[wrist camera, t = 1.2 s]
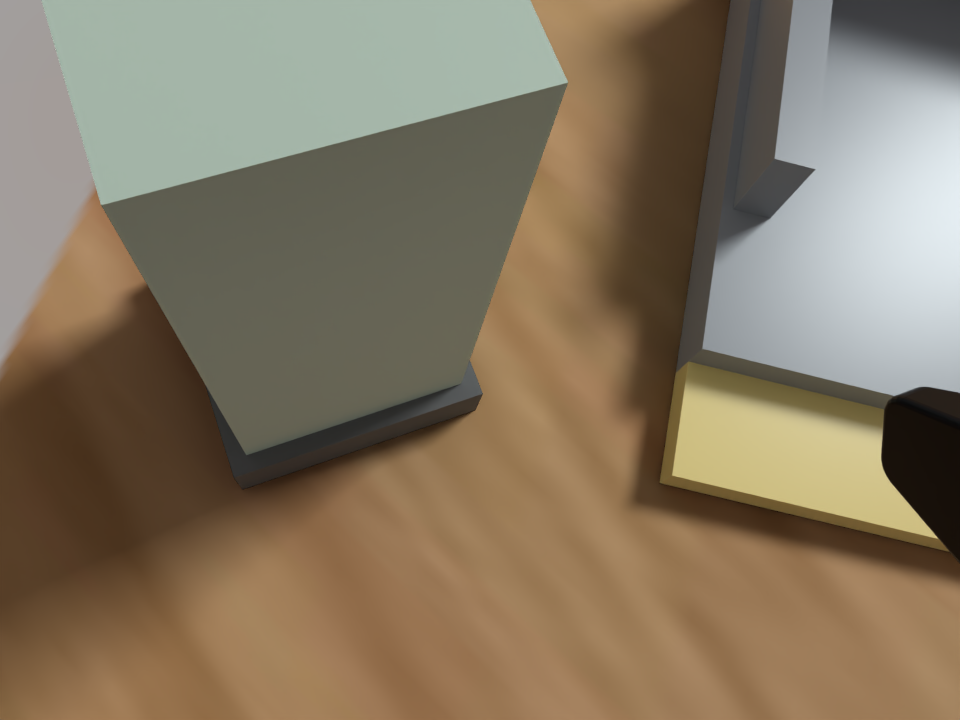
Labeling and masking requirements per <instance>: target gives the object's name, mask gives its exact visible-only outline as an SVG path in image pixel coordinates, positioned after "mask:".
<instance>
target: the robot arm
mask: <svg viewBox="0 0 960 720" xmlns="http://www.w3.org/2000/svg"><path fill="white" fill-rule="evenodd" d="M881 462H882V467H883V470H884V472H885V474H886V476H887V478H888V479H889V481H890V482H891V484H892V485H893V486H894V487H895V488H896V489H897V491H898V492H899V493H900V494H901V495H902V496H903V498H904V499H905V500H906V501H907V502H908V504H909V505H910V506H911V507H912V508H913V509H914V511H915V512H916V513H917V514H918V515H919V516H920V518H921V519H922V520H923V521H924V522H925V523H926V525H927V526H928V527H929V528H930V529H931V531H932V532H933V533H934V534H935V535H936V536H937V538H938V539H939V540H940V541H941V542H942V543H943V545H944V546H945V547H946V548H947V549H948V550H949V552H950V553H951V554H952V555H953V556H954V558H955V559H956V560H957V561H958V562H959V563H960V393H958V392H953V391H948V390H943V389H938V388H933V387H926V386H925V387H917V388H914V389H911V390H909V391H906V392H904V393H901V394H898V395H896V396H893V397H892V398H890V399H889V400H888V402H887V404H886V405H885V408H884V417H883V433H882V448H881Z"/></svg>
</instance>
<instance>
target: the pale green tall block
mask: <svg viewBox="0 0 960 720" xmlns="http://www.w3.org/2000/svg"><path fill="white" fill-rule="evenodd" d="M41 1H42V4H43V8H44V11H45V15H46V18H47V21H48V25H49V28H50V32H51V35H52V38H53V42H54V45H55V49H56V52H57V55H58V59H59V62H60V65H61V69H62V73H63V76H64V79H65V83H66V86H67V90H68V93H69V96H70V100H71V103H72V107H73V110H74V114H75V117H76V121H77V124H78V127H79V131H80V134H81V138H82V141H83V145H84V148H85V151H86V155H87V158H88V162H89V165H90V168H91V172H92V175H93V179H94V182H95V186H96V189H97V192H98V196H99V199H100V203H101V206H102V207H103V209H104V211H105V213H106V214H107V216H108V218H109V219H110V221H111V223H112V225H113V226H114V228H115V230H116V232H117V233H118V235H119V237H120V238H121V240H122V242H123V244H124V245H125V247H126V249H127V250H128V252H129V254H130V256H131V257H132V259H133V261H134V263H135V264H136V266H137V268H138V269H139V271H140V273H141V275H142V276H143V278H144V280H145V282H146V283H147V285H148V287H149V288H150V290H151V292H152V294H153V295H154V297H155V299H156V300H157V302H158V304H159V306H160V307H161V309H162V311H163V313H164V314H165V316H166V318H167V319H168V321H169V323H170V325H171V326H172V328H173V330H174V331H175V333H176V335H177V337H178V338H179V340H180V342H181V344H182V345H183V347H184V349H185V350H186V352H187V354H188V356H189V357H190V359H191V361H192V362H193V364H194V366H195V368H196V369H197V371H198V373H199V375H200V376H201V378H202V380H203V381H204V383H205V385H206V389H207V392H208V395H209V398H210V402H211V405H212V408H213V411H214V415H215V418H216V421H217V424H218V428H219V431H220V434H221V437H222V441H223V444H224V447H225V450H226V453H227V457H228V460H229V463H230V466H231V470H232V473H233V476H234V479H235V480H236V481H237V483H238V484H239V485H240V487H241V488H242V490H243V489H246V488H248V487H251V486H254V485H257V484H260V483H263V482H266V481H269V480H272V479H275V478H278V477H281V476H284V475H287V474H289V473H292V472H295V471H298V470H301V469H304V468H307V467H310V466H313V465H316V464H319V463H322V462H325V461H328V460H330V459H333V458H336V457H339V456H342V455H345V454H348V453H351V452H354V451H357V450H360V449H363V448H366V447H369V446H371V445H374V444H377V443H380V442H383V441H386V440H389V439H392V438H395V437H398V436H401V435H404V434H407V433H410V432H412V431H415V430H418V429H421V428H424V427H427V426H430V425H433V424H436V423H439V422H442V421H445V420H448V419H451V418H454V417H456V416H459V415H462V414H465V413H468V412H471V411H474V410H476V408H477V405H478V403H479V401H480V399H481V397H482V394H483V393H482V391H481V388H480V385H479V383H478V380H477V378H476V375H475V373H474V370H473V368H472V365H471V362H470V358H471V355H472V352H473V349H474V346H475V343H476V341H477V338H478V335H479V332H480V329H481V326H482V324H483V321H484V318H485V315H486V312H487V310H488V307H489V304H490V301H491V298H492V295H493V293H494V290H495V287H496V284H497V281H498V279H499V276H500V273H501V270H502V267H503V264H504V262H505V259H506V256H507V253H508V250H509V248H510V245H511V242H512V239H513V236H514V233H515V231H516V228H517V225H518V222H519V219H520V217H521V214H522V211H523V208H524V205H525V202H526V200H527V197H528V194H529V191H530V188H531V185H532V183H533V180H534V177H535V174H536V171H537V169H538V166H539V163H540V160H541V157H542V154H543V152H544V149H545V146H546V143H547V140H548V138H549V135H550V132H551V129H552V126H553V123H554V121H555V118H556V115H557V112H558V109H559V107H560V104H561V101H562V98H563V95H564V92H565V90H566V87H567V84H568V81H567V79H566V77H565V75H564V73H563V71H562V68H561V66H560V64H559V62H558V60H557V58H556V55H555V53H554V51H553V49H552V47H551V44H550V42H549V40H548V38H547V36H546V34H545V31H544V29H543V27H542V25H541V23H540V21H539V18H538V16H537V14H536V12H535V10H534V8H533V5H532V3H531V1H530V0H41Z"/></svg>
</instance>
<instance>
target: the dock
mask: <svg viewBox="0 0 960 720" xmlns="http://www.w3.org/2000/svg"><path fill="white" fill-rule="evenodd" d="M925 386H926V387H933V388H938V389H943V390H948V391H953V392H958V393H960V0H731V1H730V8H729V14H728V21H727V28H726V35H725V42H724V48H723V55H722V62H721V69H720V75H719V82H718V89H717V96H716V103H715V109H714V116H713V123H712V130H711V137H710V143H709V150H708V157H707V164H706V171H705V177H704V184H703V191H702V198H701V205H700V211H699V218H698V225H697V232H696V239H695V245H694V252H693V259H692V266H691V272H690V279H689V286H688V293H687V300H686V306H685V313H684V320H683V327H682V334H681V340H680V347H679V354H678V361H677V368H676V374H675V381H674V388H673V395H672V402H671V408H670V415H669V422H668V429H667V436H666V442H665V449H664V456H663V463H662V469H661V476H660V483H662V484H666V485H670V486H674V487H678V488H683V489H687V490H691V491H695V492H699V493H704V494H708V495H712V496H716V497H720V498H725V499H729V500H733V501H737V502H742V503H746V504H750V505H754V506H758V507H763V508H767V509H771V510H775V511H779V512H784V513H788V514H792V515H796V516H800V517H805V518H809V519H813V520H817V521H821V522H826V523H830V524H834V525H838V526H842V527H847V528H851V529H855V530H859V531H863V532H868V533H872V534H876V535H880V536H885V537H889V538H893V539H897V540H901V541H906V542H910V543H914V544H918V545H922V546H927V547H931V548H935V549H939V550H943V551H948V552H949V550H948V549H947V548H946V547H945V546H944V545H943V543H942V542H941V541H940V540H939V539H938V538H937V536H936V535H935V534H934V533H933V532H932V531H931V529H930V528H929V527H928V526H927V525H926V523H925V522H924V521H923V520H922V519H921V518H920V516H919V515H918V514H917V513H916V512H915V511H914V509H913V508H912V507H911V506H910V505H909V504H908V502H907V501H906V500H905V499H904V498H903V496H902V495H901V494H900V493H899V492H898V491H897V489H896V488H895V487H894V486H893V485H892V484H891V482H890V481H889V479H888V478H887V476H886V474H885V472H884V470H883V467H882V462H881V448H882V433H883V417H884V408H885V405H886V404H887V402H888V400H889V399H890V398H892V397H893V396H896V395H898V394H901V393H904V392H906V391H909V390H911V389H914V388H917V387H925Z"/></svg>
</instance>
